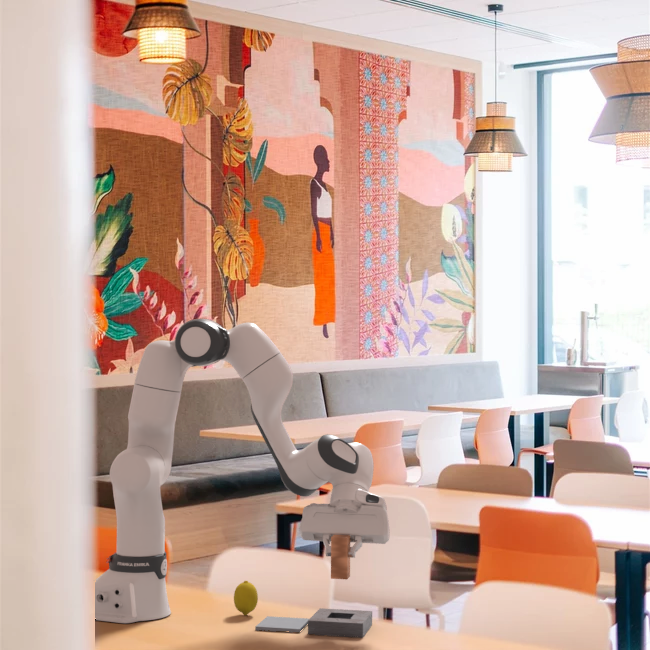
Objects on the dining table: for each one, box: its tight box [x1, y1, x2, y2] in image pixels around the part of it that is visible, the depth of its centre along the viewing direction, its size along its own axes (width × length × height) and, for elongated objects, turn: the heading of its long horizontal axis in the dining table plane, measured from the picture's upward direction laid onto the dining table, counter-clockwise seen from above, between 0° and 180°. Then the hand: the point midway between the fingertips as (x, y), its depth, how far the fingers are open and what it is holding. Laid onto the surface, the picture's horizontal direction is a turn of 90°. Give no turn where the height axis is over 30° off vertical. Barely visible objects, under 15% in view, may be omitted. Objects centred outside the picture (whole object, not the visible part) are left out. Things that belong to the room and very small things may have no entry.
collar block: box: [307, 607, 373, 639], centre depth 233 cm, size 12×12×3 cm
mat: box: [254, 615, 310, 633], centre depth 236 cm, size 10×10×1 cm
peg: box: [330, 535, 351, 580], centre depth 234 cm, size 4×4×9 cm
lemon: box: [233, 580, 259, 616], centre depth 246 cm, size 6×6×8 cm
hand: (340, 555), depth 233 cm, fingers closed on peg, 4 cm apart
